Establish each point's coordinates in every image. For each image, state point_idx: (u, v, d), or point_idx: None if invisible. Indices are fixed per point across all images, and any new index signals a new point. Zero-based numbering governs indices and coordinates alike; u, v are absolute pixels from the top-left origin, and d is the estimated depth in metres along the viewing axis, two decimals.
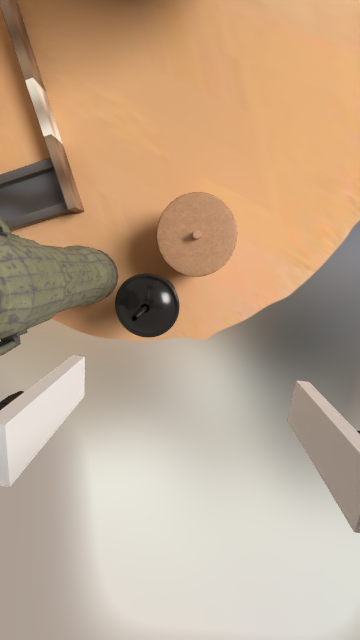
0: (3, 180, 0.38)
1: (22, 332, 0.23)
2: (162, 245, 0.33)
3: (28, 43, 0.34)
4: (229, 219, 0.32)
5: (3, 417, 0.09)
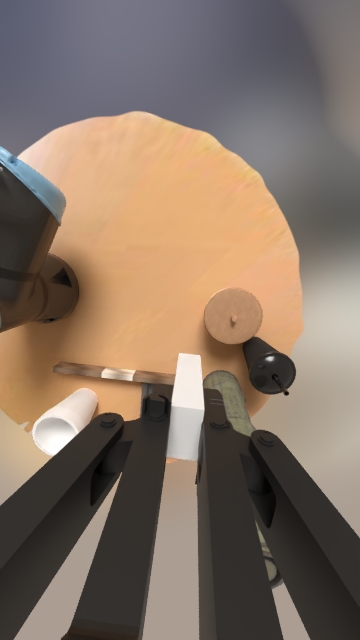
0: None
1: None
2: (229, 341, 0.46)
3: (81, 365, 0.57)
4: (232, 291, 0.44)
5: (180, 402, 0.11)
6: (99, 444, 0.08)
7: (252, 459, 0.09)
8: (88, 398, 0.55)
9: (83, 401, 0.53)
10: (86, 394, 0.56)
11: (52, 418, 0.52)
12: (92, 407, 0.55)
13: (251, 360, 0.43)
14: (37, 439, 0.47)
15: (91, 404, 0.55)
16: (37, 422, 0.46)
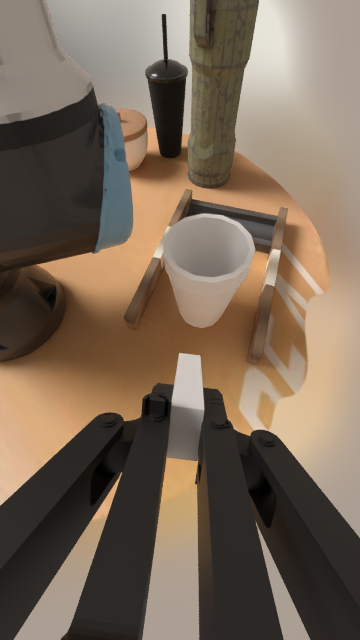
0: None
1: None
2: (141, 125, 0.47)
3: None
4: None
5: (180, 402, 0.11)
6: (99, 444, 0.08)
7: (252, 458, 0.09)
8: None
9: None
10: None
11: None
12: None
13: (155, 93, 0.45)
14: None
15: None
16: (173, 264, 0.24)
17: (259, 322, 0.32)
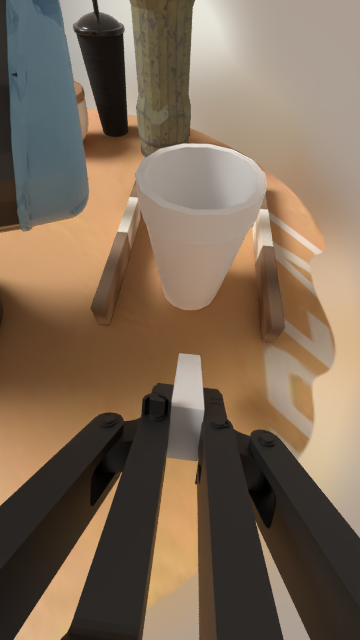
0: None
1: None
2: (77, 90, 0.39)
3: None
4: None
5: (181, 402, 0.11)
6: (99, 444, 0.08)
7: (252, 459, 0.09)
8: None
9: None
10: None
11: None
12: None
13: (89, 51, 0.37)
14: None
15: None
16: (159, 200, 0.16)
17: (268, 288, 0.25)
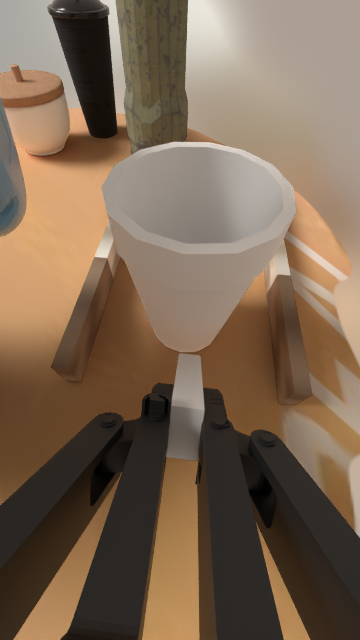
0: None
1: None
2: (54, 84, 0.33)
3: None
4: None
5: (180, 402, 0.11)
6: (99, 444, 0.08)
7: (252, 458, 0.09)
8: None
9: None
10: None
11: None
12: None
13: (67, 38, 0.32)
14: None
15: None
16: (134, 228, 0.10)
17: (287, 335, 0.19)
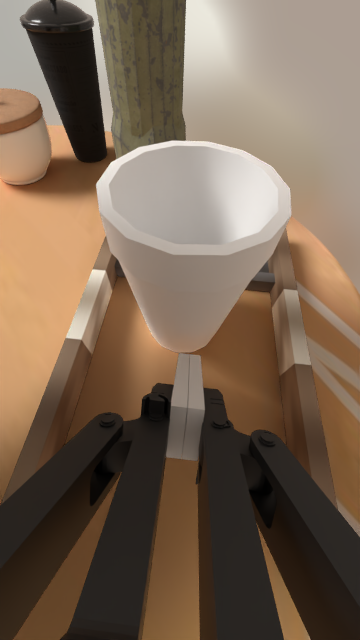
0: None
1: None
2: (29, 107, 0.28)
3: None
4: None
5: (180, 402, 0.11)
6: (98, 444, 0.08)
7: (253, 459, 0.09)
8: None
9: None
10: None
11: None
12: None
13: (44, 54, 0.27)
14: None
15: None
16: (125, 227, 0.10)
17: (311, 463, 0.15)
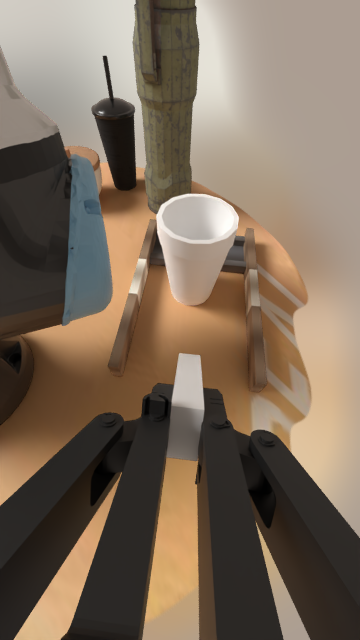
0: None
1: None
2: (94, 160, 0.45)
3: None
4: None
5: (180, 402, 0.11)
6: (99, 444, 0.08)
7: (252, 459, 0.09)
8: None
9: None
10: None
11: None
12: None
13: (104, 129, 0.44)
14: None
15: None
16: (170, 233, 0.26)
17: (255, 347, 0.30)
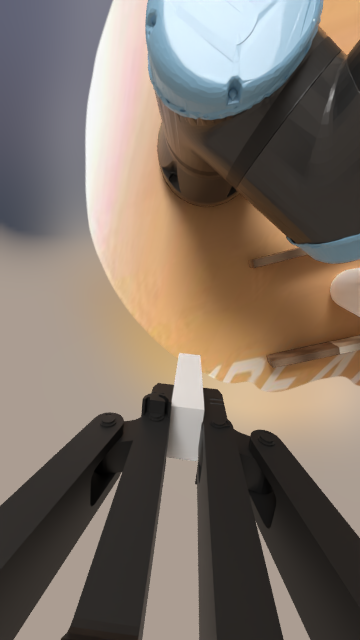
0: None
1: None
2: None
3: None
4: None
5: (180, 402, 0.11)
6: (99, 444, 0.08)
7: (252, 459, 0.09)
8: None
9: None
10: None
11: None
12: None
13: None
14: None
15: None
16: None
17: (299, 356, 0.41)
